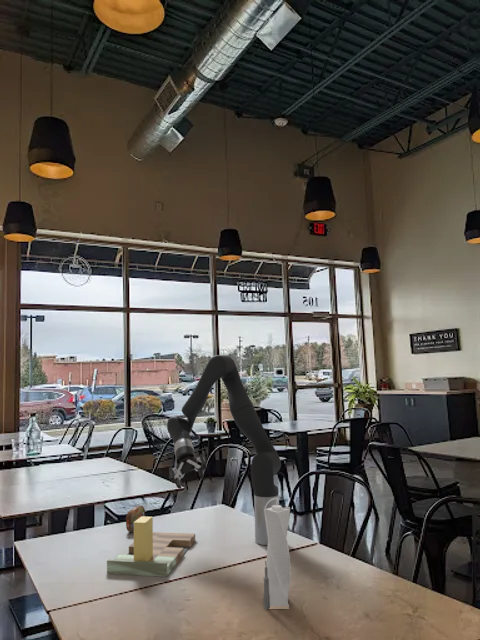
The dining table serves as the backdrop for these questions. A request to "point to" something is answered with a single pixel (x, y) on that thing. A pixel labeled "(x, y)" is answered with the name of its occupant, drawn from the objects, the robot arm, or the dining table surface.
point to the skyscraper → (277, 557)
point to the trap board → (154, 556)
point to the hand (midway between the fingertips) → (190, 482)
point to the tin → (134, 517)
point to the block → (143, 539)
